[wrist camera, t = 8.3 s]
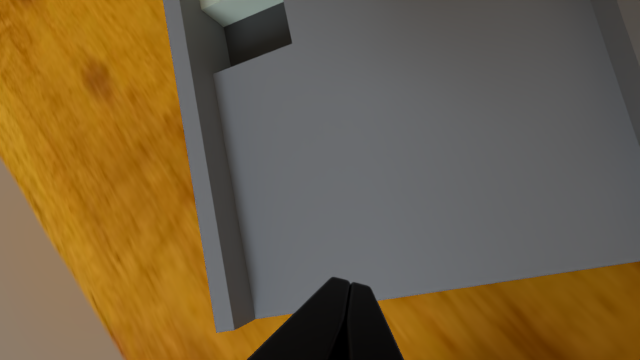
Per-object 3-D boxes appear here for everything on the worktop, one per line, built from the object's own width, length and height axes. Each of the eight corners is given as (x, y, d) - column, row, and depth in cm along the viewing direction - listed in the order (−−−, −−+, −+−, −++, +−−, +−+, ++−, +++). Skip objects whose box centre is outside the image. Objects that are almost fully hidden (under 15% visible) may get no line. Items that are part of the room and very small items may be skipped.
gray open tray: (674, 245, 17) (756, 258, 12) (261, 310, 23) (210, 335, 18) (505, -260, 21) (517, -398, 16) (190, -88, 27) (133, -151, 22)
